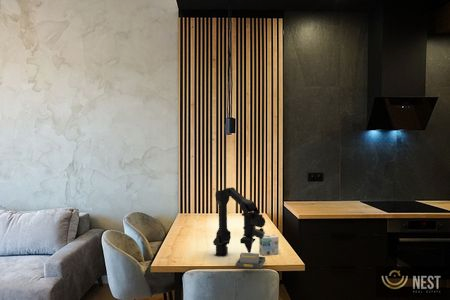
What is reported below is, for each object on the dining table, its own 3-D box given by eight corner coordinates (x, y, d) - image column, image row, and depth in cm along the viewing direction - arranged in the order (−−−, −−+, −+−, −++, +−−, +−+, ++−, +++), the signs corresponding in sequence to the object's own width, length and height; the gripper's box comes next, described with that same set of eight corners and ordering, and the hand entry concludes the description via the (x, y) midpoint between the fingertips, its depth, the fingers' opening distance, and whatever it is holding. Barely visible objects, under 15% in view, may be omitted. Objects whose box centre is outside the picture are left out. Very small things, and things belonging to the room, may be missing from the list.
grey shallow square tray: (235, 266, 201) (235, 263, 201) (241, 258, 215) (241, 255, 215) (260, 268, 197) (260, 265, 197) (265, 260, 212) (265, 256, 212)
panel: (239, 265, 202) (239, 254, 202) (241, 263, 206) (241, 252, 206) (257, 266, 200) (257, 255, 200) (259, 264, 204) (258, 253, 204)
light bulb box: (262, 255, 221) (262, 237, 221) (259, 252, 228) (258, 235, 228) (279, 254, 224) (278, 236, 224) (275, 251, 230) (274, 234, 230)
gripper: (260, 228, 192) (260, 258, 192) (266, 221, 210) (266, 248, 210) (239, 227, 195) (240, 257, 195) (247, 221, 213) (247, 247, 213)
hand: (249, 252), depth 203 cm, fingers closed
